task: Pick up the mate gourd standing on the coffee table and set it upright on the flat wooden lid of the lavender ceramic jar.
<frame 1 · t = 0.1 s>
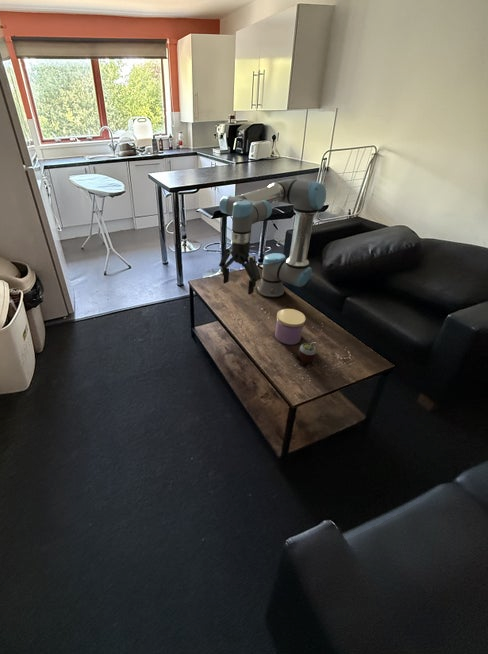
hand: (237, 287, 137), 28 cm above the table, tool pointing down, fingers open, 13 cm apart
mate gourd: (306, 362, 136), on the table
jar: (287, 336, 151), on the table
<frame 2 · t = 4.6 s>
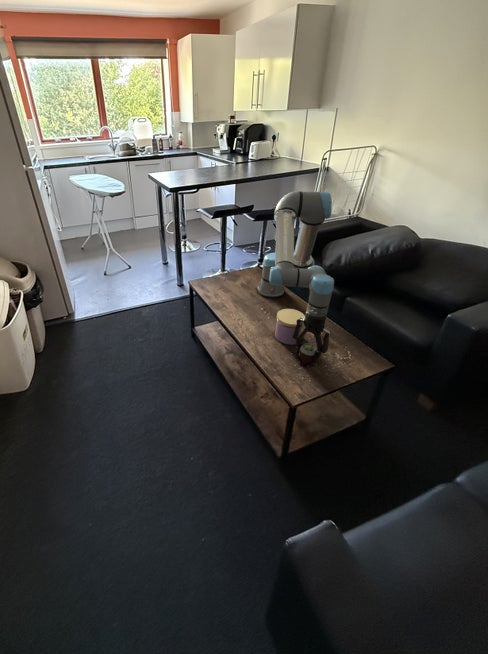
hand: (306, 357, 134), 3 cm above the table, tool pointing down, fingers closed on mate gourd, 7 cm apart
mate gourd: (306, 362, 136), on the table, touching gripper
when the fingers open (14 cm above the table, at t = 11.2 s): mate gourd stays where it is, resting on jar.
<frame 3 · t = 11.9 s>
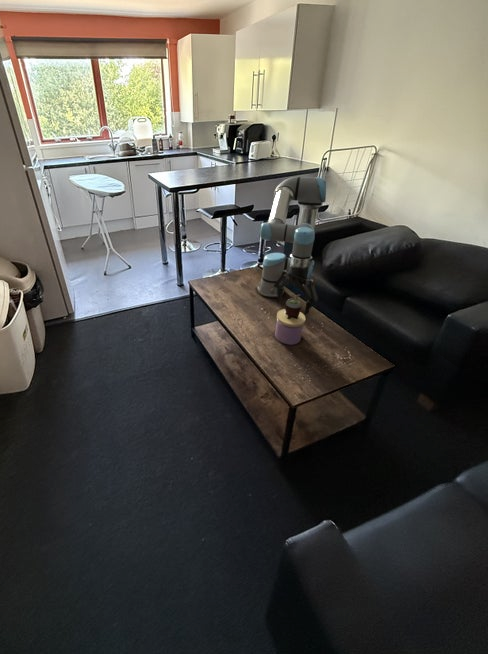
hand: (292, 307, 143), 16 cm above the table, tool pointing down, fingers open, 13 cm apart
mate gourd: (292, 317, 145), point 11 cm above the table, touching jar
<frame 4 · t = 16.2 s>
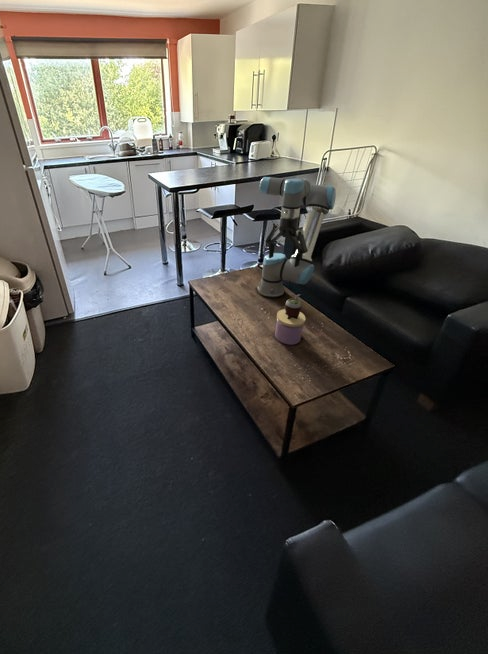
hand: (283, 261, 147), 33 cm above the table, tool pointing down, fingers open, 13 cm apart
nothing on the table moved.
at the end: mate gourd 0.5 cm off-centre on the jar, point 11.4 cm above the jar's base; mate gourd tilted 0°; the gripper is holding nothing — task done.
